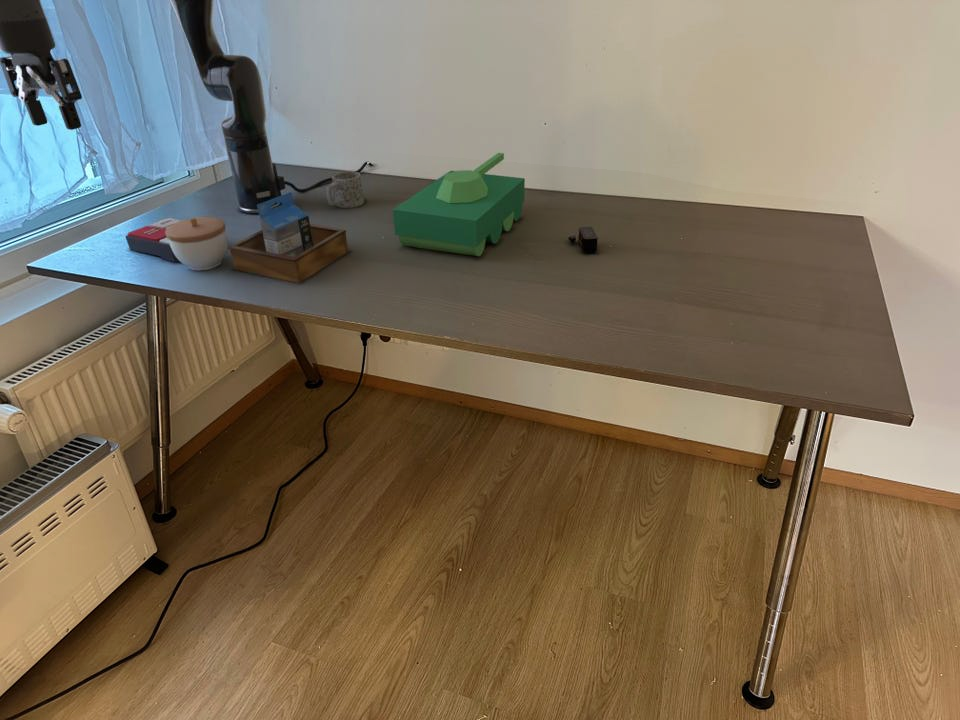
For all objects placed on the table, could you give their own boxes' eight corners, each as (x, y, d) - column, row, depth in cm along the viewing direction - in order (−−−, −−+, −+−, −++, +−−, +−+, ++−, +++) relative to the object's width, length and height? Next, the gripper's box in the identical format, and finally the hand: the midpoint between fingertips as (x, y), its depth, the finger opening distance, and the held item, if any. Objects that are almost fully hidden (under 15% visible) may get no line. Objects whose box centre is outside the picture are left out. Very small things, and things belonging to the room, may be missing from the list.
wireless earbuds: (590, 240, 135) (591, 225, 134) (597, 254, 129) (598, 238, 128) (567, 241, 135) (568, 225, 134) (573, 255, 129) (574, 239, 128)
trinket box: (244, 256, 133) (233, 211, 128) (210, 278, 124) (198, 231, 119) (199, 250, 136) (187, 206, 131) (164, 272, 127) (149, 225, 122)
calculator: (168, 215, 143) (214, 223, 136) (174, 234, 145) (220, 243, 138) (122, 232, 135) (169, 242, 128) (129, 252, 138) (176, 262, 131)
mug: (350, 196, 163) (346, 169, 159) (369, 201, 159) (366, 174, 156) (319, 208, 156) (315, 180, 152) (339, 213, 152) (335, 185, 149)
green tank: (536, 151, 148) (475, 201, 121) (535, 204, 155) (477, 263, 127) (464, 145, 154) (390, 190, 127) (465, 196, 160) (396, 250, 133)
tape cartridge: (283, 270, 126) (270, 208, 120) (268, 266, 128) (255, 205, 122) (315, 254, 133) (305, 194, 126) (301, 250, 135) (291, 191, 128)
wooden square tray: (287, 240, 139) (283, 219, 137) (349, 251, 133) (346, 229, 131) (233, 269, 127) (228, 246, 125) (299, 283, 122) (294, 259, 119)
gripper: (70, 14, 100) (106, 124, 109) (11, 13, 106) (50, 118, 115) (23, 20, 95) (65, 136, 104) (-37, 18, 100) (8, 128, 109)
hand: (57, 126), depth 109 cm, fingers open, 8 cm apart
